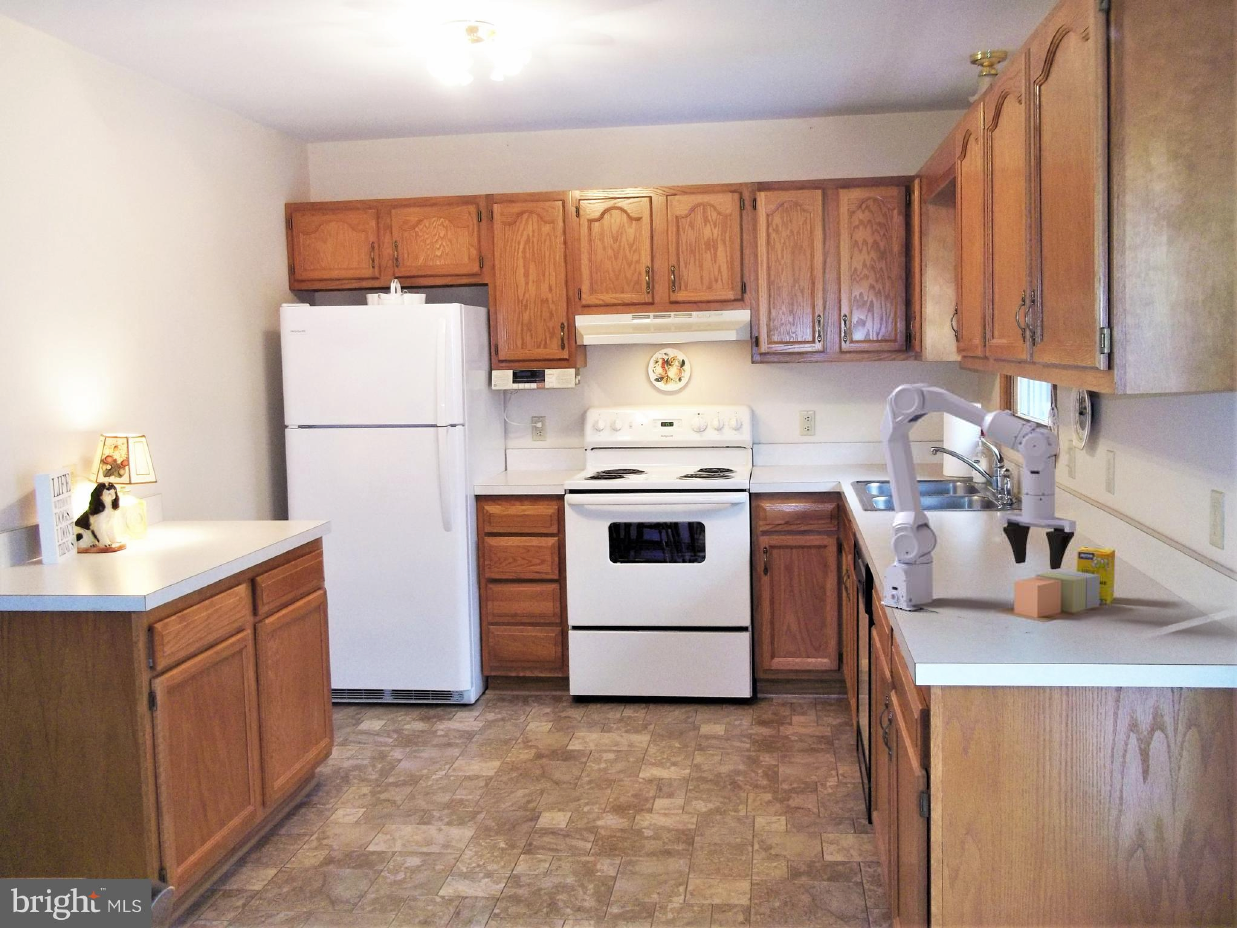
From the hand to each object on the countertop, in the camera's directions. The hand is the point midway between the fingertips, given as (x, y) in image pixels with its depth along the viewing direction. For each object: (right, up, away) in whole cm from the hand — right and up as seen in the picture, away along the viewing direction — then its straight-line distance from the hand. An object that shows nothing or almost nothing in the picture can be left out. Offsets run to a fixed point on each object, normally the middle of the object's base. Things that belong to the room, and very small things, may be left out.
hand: (1037, 565), depth 206 cm
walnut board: (+4, -10, +3) cm, 11 cm away
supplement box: (+15, -9, +11) cm, 21 cm away
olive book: (+6, -8, +5) cm, 11 cm away
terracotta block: (0, -9, +1) cm, 9 cm away
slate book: (+10, -8, +7) cm, 14 cm away
